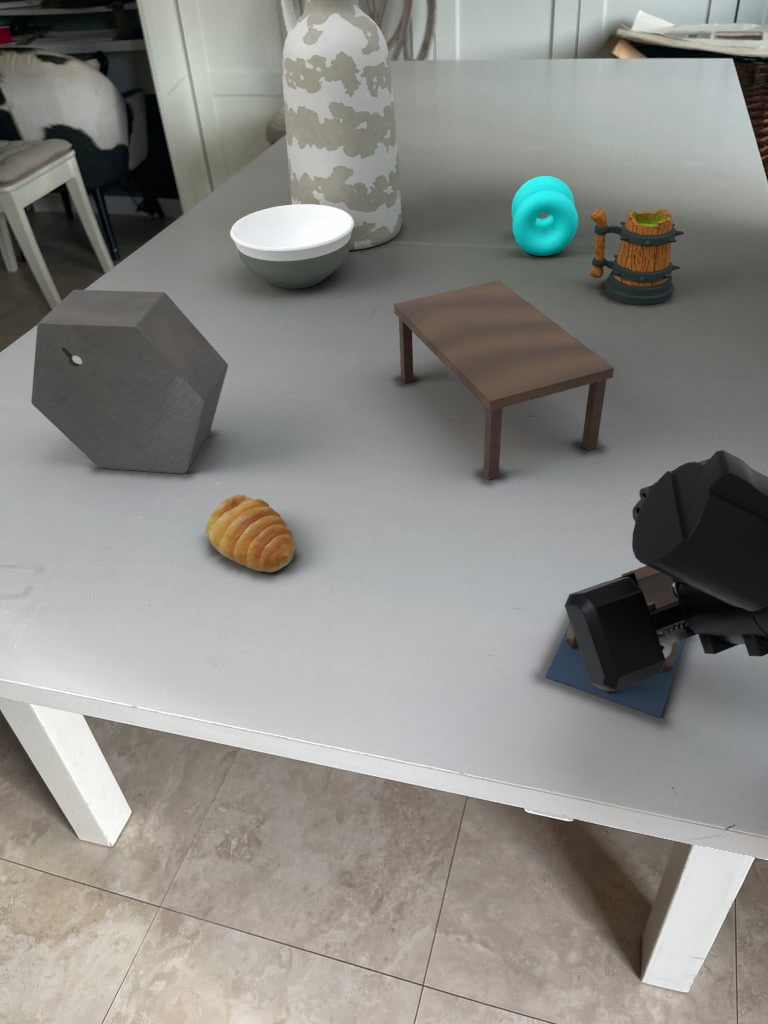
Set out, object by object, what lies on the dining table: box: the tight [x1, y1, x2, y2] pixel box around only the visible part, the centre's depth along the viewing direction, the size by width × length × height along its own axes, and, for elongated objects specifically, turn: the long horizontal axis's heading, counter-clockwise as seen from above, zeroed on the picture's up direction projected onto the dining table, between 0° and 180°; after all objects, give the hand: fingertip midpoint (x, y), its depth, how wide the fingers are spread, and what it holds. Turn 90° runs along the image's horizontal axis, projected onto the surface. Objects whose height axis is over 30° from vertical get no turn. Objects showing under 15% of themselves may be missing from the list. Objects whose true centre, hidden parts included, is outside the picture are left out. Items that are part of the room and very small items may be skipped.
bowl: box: [229, 204, 354, 289], centre depth 124 cm, size 19×19×8 cm
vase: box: [280, 0, 403, 251], centre depth 129 cm, size 20×19×38 cm
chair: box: [566, 565, 685, 694], centre depth 61 cm, size 6×6×12 cm
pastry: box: [205, 494, 297, 573], centre depth 76 cm, size 9×7×4 cm
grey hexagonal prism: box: [30, 289, 229, 475], centre depth 86 cm, size 17×8×21 cm
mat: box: [545, 627, 686, 719], centre depth 65 cm, size 9×9×1 cm
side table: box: [393, 279, 615, 481], centre depth 91 cm, size 24×14×10 cm, turn 22°
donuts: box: [511, 175, 579, 257], centre depth 128 cm, size 10×10×10 cm
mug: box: [588, 207, 684, 306], centre depth 113 cm, size 13×10×12 cm
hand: (639, 601), depth 60 cm, fingers closed on chair, 6 cm apart
